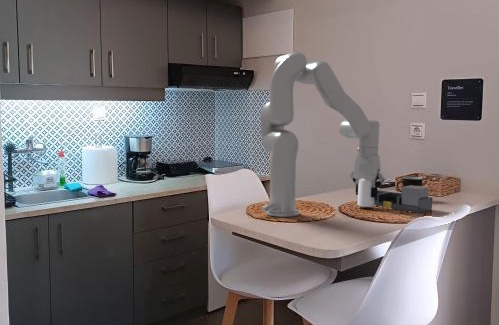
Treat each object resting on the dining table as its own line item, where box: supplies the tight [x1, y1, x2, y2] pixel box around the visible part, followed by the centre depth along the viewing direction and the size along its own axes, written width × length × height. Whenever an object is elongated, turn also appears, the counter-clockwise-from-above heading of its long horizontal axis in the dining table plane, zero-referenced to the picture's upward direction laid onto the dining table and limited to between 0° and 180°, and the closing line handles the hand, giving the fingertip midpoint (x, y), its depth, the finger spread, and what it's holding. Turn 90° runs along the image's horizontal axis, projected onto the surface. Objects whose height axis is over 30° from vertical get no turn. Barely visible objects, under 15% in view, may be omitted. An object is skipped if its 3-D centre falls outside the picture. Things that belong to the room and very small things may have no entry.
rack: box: [374, 185, 433, 214], centre depth 203 cm, size 10×28×9 cm, turn 44°
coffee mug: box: [396, 176, 424, 193], centre depth 219 cm, size 12×9×10 cm
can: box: [357, 178, 374, 208], centre depth 200 cm, size 6×6×12 cm
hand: (366, 195), depth 200 cm, fingers closed on can, 6 cm apart
